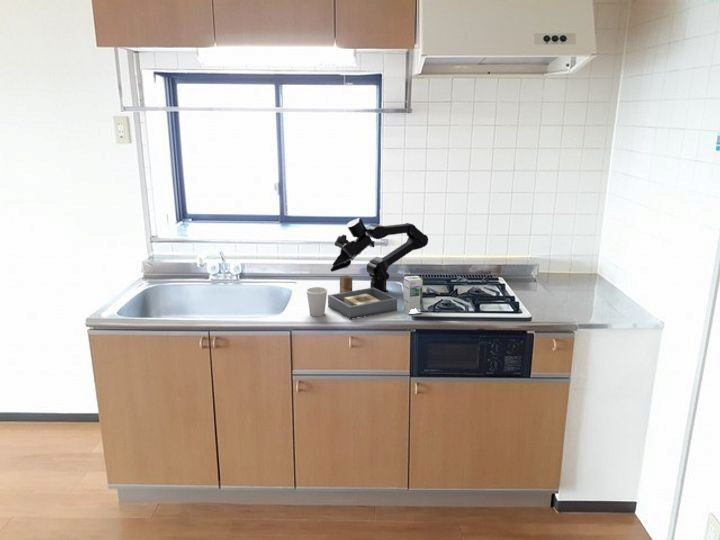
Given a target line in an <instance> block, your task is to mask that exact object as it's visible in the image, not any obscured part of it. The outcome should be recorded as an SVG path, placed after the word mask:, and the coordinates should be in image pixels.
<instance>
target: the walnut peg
mask: <svg viewBox="0 0 720 540" xmlns="http://www.w3.org/2000/svg"><path fill="white" fill-rule="evenodd" d="M349 291H353V276H350V275H340V276H339V293H343V292H349Z"/></svg>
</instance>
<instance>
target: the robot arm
mask: <svg viewBox="0 0 720 540" xmlns="http://www.w3.org/2000/svg"><path fill="white" fill-rule="evenodd" d="M346 227H347V228H348V231H349V232H350V234H351V236H352V238H356V239H354V240H351V241H349V240H348V237H347V235H346V234H342V235H339V236H337V238H336V240H335V242H334V246H335V247H338V248H340V251H339V252H340V253H339V255H338V256H337V257H336V259H335V260H334V261H333V262H332V267H331V268H330V272H335V271H336V272H337V271H339V270H342V269H348V268H349V267H350V266H351V264H352V261H353V260H355V258H356V257H357V256H358V255H360V254H361V253H362V252H363V251H365V249H367V248H368V247H371V248H375V243H376V242H375V241H374V240H372V239H375V240H381V239H383V238H386V237H387V236H390V235H391V236H393V235H400V234H406V236H407V237H408V238H407V239H406V242H404V243H403V244H401V245H400V246H398V247H396V248H395V249H394V250H392V251H391V252H389V253H387V254H386V255H385V256H383V257H379V256H375V257H374V258H372V259H370V260H369V262H368V263H367V265H366V272H367V273H368V274H369V277H371V280H370V284H369V285H370V287H369V288H373V287H374V288H376V289H378V290H380V291H382V292H384V293H388V292H389V290H388V289H387V282H388V281H387V280H389V278H390V276H391V275H390V274H389V273H388V270H389V267H390V266H392V265H393V264H395V263H396V262H398V261H400V260H401V259H402V258H404V257H405V256H406V255H408V254H410V253H411V252H413V251H415V250H420V249H422V248H425V247H426V246H427V245H428V244H429V238H428V235H426V234H424V233H423V232H422V231H421V229H418V227H416V226H415V224H413V223H410V222H407V223H406V222H405V223H400V224H399V223H398V224H390V225H380V224H369V225H368V226H365V224H364V222H363V219H362V218H361V217H357V218H356V219H353V220H350V221H349V222H348V223H347V224H346Z"/></svg>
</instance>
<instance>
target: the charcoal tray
mask: <svg viewBox="0 0 720 540" xmlns="http://www.w3.org/2000/svg"><path fill="white" fill-rule="evenodd" d="M362 294H369V295H371V296H373V297H375V298H377V299H379V300H381V301H377V302H371V303H366V304H360V305H355V306H350V305H348V304H346V303H344V298H345V297H350V296H356V295H362ZM327 306H328V308H329V309H331V310H333V311H334V312H336V313H338V314H340V315H341V316H343V317H345V318H346V317H347V318H346V319H348V318H349V319H348V320H350V319H351V320H353V319H352V318H356V319H358V318H357V317H361V318H364V316H366V317H370V316H369V315H371V316H375V314H376V315H380V313H381V314H386V313H390V312H396V311H398V298H397V297H395V296H393V295H391V294H389V293H387V292H382V291H380V290H378V289H376V288H374V287H373V288H370V287H367V288H362V289H357V290H356V289H355V290H352V291H349V292H343V293H340V292H339V293H338V292H337V293H333V294H327Z"/></svg>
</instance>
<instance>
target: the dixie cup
mask: <svg viewBox="0 0 720 540" xmlns="http://www.w3.org/2000/svg"><path fill="white" fill-rule="evenodd" d="M305 292H306V295H307V296H306V297H307V303H308V308H309V309H308V310H309V316H311V315H312V316H311V317H315V316H318V317H323V316H324V315H325V314H326V313H325V311H326V303H327V301H326V300H327V297H328V289H327V288H325V287H321V286H312V287H308V288H307V289H306V290H305ZM322 315H323V316H322Z"/></svg>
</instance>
